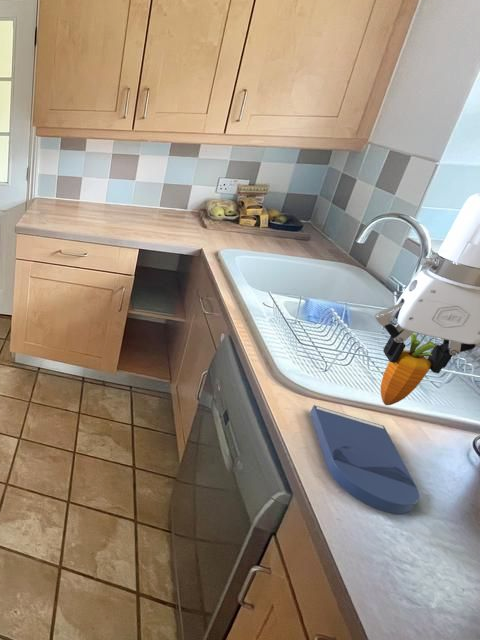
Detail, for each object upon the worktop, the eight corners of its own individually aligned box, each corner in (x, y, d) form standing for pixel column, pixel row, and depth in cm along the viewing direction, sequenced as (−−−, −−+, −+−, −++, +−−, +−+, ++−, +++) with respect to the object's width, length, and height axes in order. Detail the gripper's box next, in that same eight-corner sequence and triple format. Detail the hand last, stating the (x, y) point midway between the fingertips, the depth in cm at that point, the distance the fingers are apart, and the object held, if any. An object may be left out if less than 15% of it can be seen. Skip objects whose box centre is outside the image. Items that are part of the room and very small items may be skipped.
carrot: (366, 391, 80) (402, 326, 74) (400, 402, 78) (441, 336, 71) (370, 406, 76) (408, 339, 70) (406, 419, 74) (449, 350, 68)
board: (378, 434, 87) (384, 425, 86) (425, 526, 69) (433, 516, 68) (309, 413, 92) (313, 404, 91) (336, 494, 74) (342, 484, 73)
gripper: (404, 268, 66) (355, 359, 73) (560, 295, 59) (489, 393, 67) (386, 252, 72) (343, 338, 80) (526, 274, 65) (464, 366, 73)
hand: (410, 362), depth 73 cm, fingers closed on carrot, 4 cm apart
